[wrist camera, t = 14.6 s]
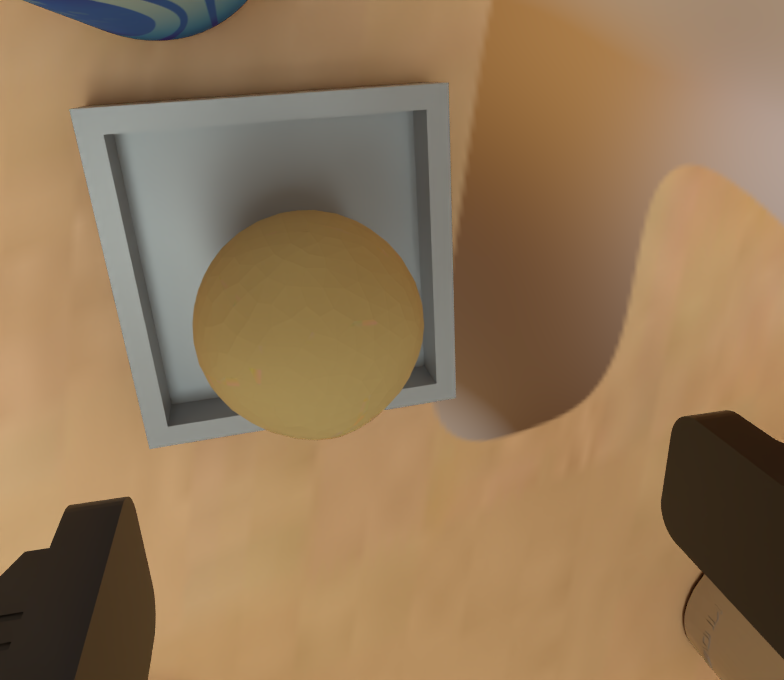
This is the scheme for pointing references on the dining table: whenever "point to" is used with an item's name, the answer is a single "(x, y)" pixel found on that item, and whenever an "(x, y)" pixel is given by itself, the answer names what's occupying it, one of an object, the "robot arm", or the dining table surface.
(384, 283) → the light bulb
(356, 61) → the dining table surface
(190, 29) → the beer can
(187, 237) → the tray
